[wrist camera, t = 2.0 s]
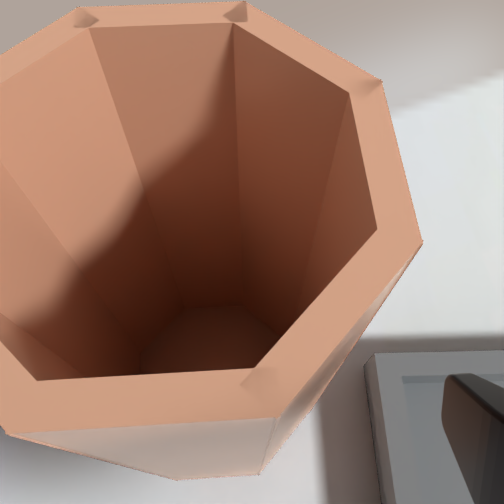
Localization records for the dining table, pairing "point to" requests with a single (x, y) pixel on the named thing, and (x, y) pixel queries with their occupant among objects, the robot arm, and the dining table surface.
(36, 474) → the dining table surface
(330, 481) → the dining table surface
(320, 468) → the dining table surface
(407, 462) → the tray
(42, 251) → the cup
